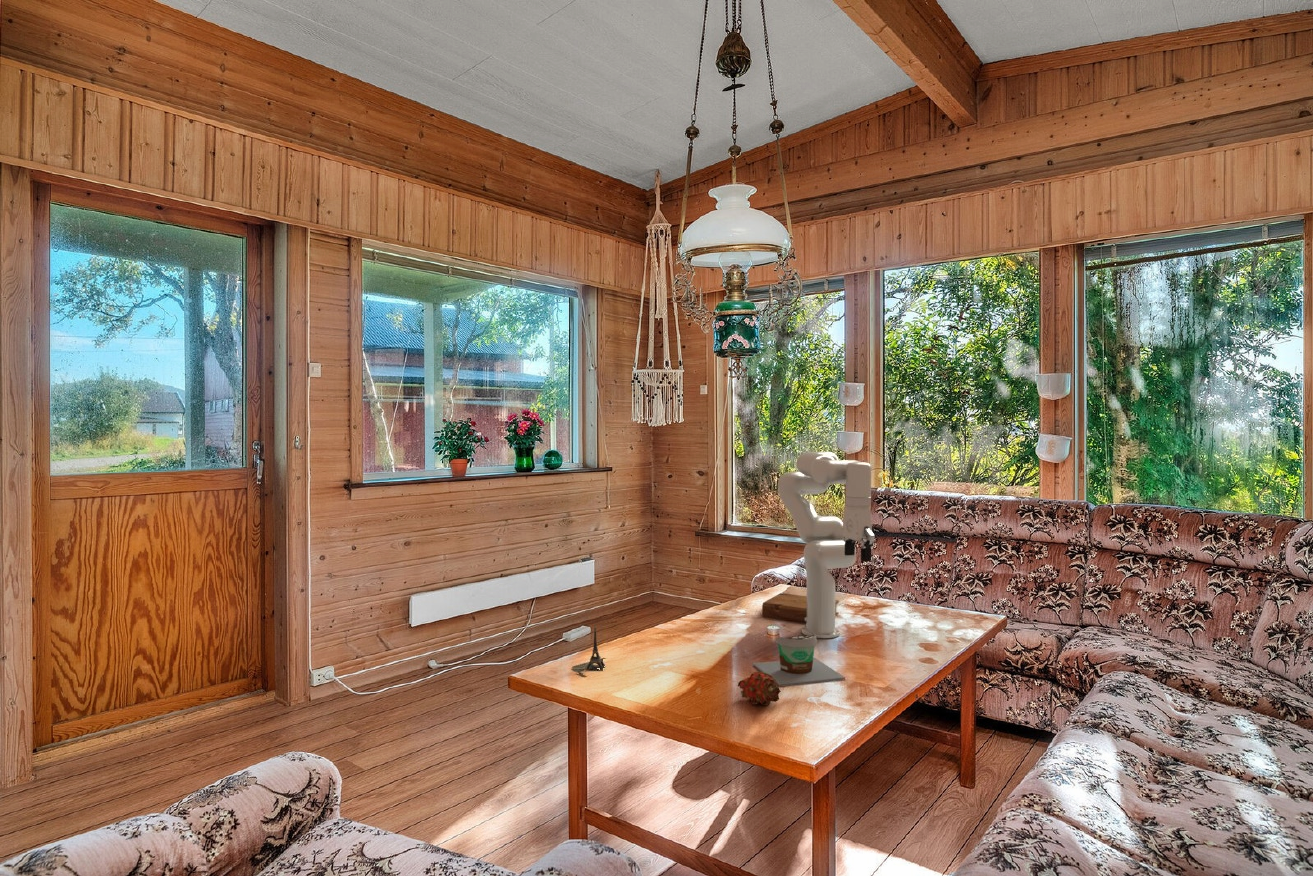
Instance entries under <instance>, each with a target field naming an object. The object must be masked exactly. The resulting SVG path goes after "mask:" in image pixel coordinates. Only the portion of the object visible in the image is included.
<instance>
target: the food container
mask: <svg viewBox="0 0 1313 876" xmlns="http://www.w3.org/2000/svg"><path fill="white" fill-rule="evenodd" d="M775 643H776V644H777V645H778V654H779V655H778V656H779V661H780V668H781V670H782V671H784V672H787V673H791V674H806V673H809V672H811V671H812V666H813V658H814V654H815V645H817V644H818V638H816V636H815V634H814V633H813V635H811V636H807V635H793V636H790V637H782V636H780V635H777V637H776V641H775Z"/></svg>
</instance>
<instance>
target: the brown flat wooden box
mask: <svg viewBox="0 0 1313 876" xmlns="http://www.w3.org/2000/svg"><path fill="white" fill-rule="evenodd" d="M839 603H840V600H839V599H835V617H837V615H839V614H840V613H839V612H837V605H838V604H839ZM761 607H762V608H761V613H762V614H761V616H762V618H769V619H777V620H783V621H784V620H785V621H790V622H796V623H797V622H798V623H804V624H806V621H805V618H806V617H807V595H799V594H792V593H791V594H790V593H783V592H779V593H778V594H776V595H774V596H773V597H771V598H769V599H767V600H765V601H763V603H762V605H761Z"/></svg>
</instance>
